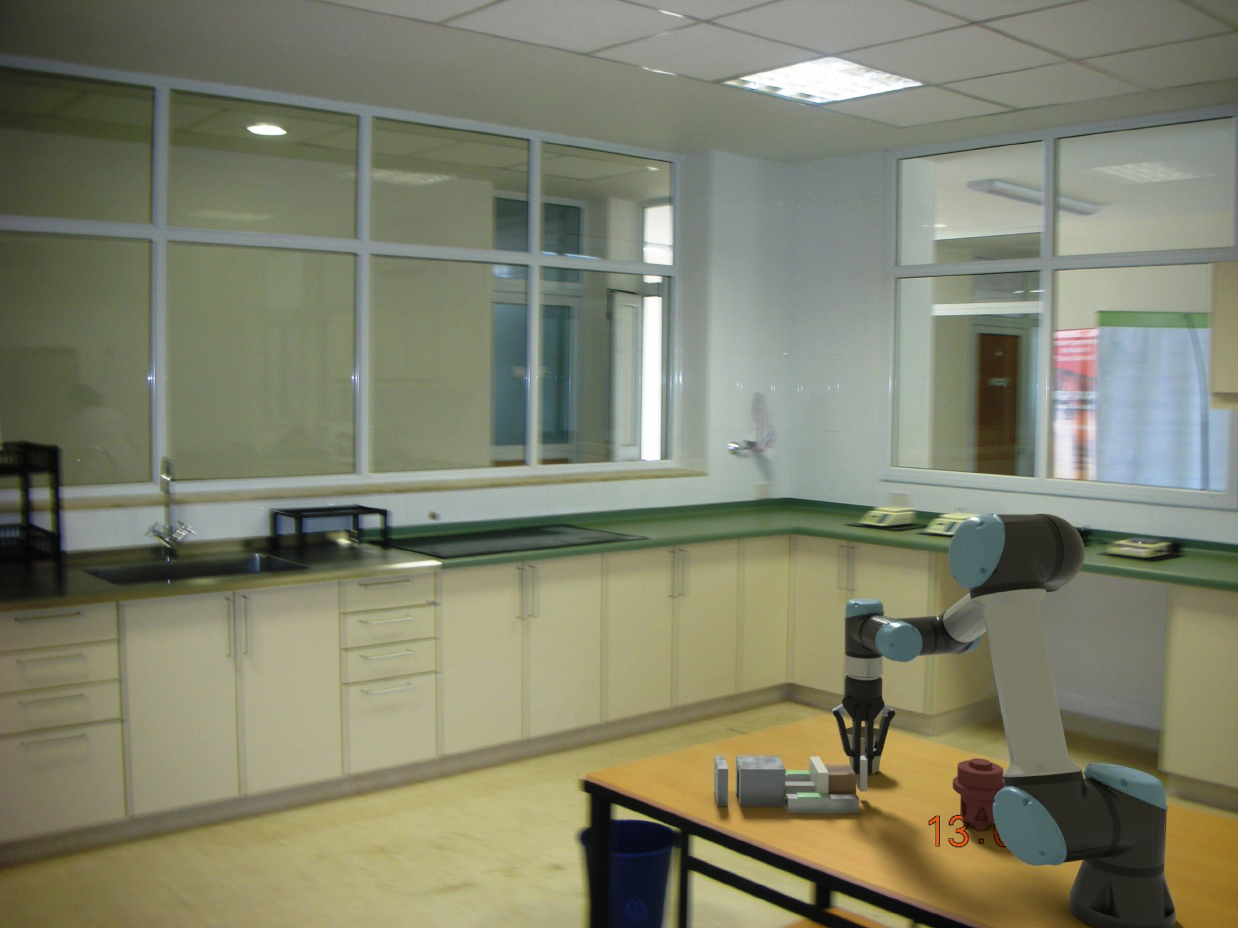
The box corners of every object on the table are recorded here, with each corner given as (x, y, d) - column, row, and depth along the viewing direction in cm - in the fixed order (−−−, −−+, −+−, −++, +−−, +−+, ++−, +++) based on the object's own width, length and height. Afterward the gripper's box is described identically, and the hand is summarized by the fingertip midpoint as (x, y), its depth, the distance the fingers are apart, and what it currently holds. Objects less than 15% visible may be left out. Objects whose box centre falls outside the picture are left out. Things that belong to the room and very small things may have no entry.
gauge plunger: (828, 806, 213) (828, 772, 212) (758, 806, 213) (758, 772, 212) (818, 789, 223) (819, 756, 222) (751, 788, 223) (752, 755, 222)
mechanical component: (1002, 816, 209) (1010, 836, 199) (949, 812, 211) (954, 832, 201) (1003, 754, 208) (1012, 771, 198) (950, 751, 210) (956, 767, 200)
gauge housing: (858, 813, 210) (859, 775, 209) (719, 812, 210) (719, 774, 209) (842, 785, 226) (842, 750, 225) (712, 784, 226) (712, 749, 225)
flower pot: (833, 766, 238) (834, 728, 237) (867, 760, 242) (868, 723, 241) (860, 779, 229) (861, 740, 229) (895, 773, 233) (895, 734, 233)
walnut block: (856, 803, 215) (856, 774, 215) (826, 803, 215) (826, 774, 215) (849, 793, 221) (849, 764, 221) (821, 793, 221) (820, 764, 221)
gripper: (890, 670, 220) (889, 782, 221) (828, 670, 220) (827, 782, 222) (900, 679, 213) (898, 795, 214) (835, 679, 213) (834, 795, 214)
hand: (862, 788), depth 218 cm, fingers closed
